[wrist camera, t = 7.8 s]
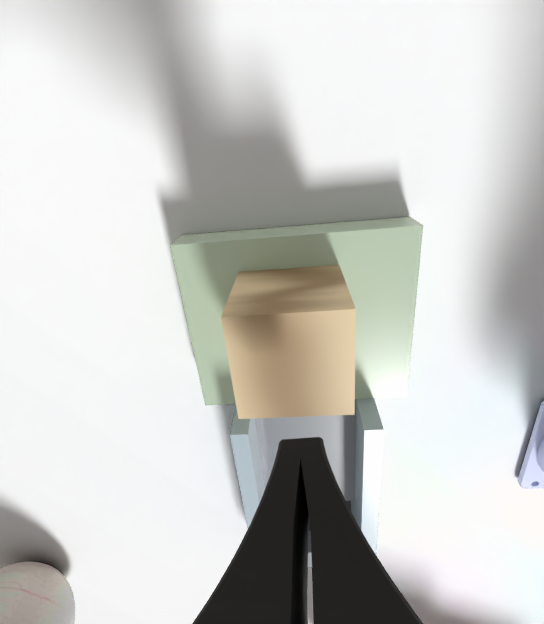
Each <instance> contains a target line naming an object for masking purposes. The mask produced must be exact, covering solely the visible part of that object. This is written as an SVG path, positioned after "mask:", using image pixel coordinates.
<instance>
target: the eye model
mask: <svg viewBox="0 0 544 624" xmlns="http://www.w3.org/2000/svg"><path fill="white" fill-rule="evenodd" d="M74 621H75V601H74V596H73V592H72V589H71V587H70V585H69V583H68V581H67V580H66V578H65V577H64V576H63V575H62V574H61V573H60V572H59V571H58V570H57V569H55V568H54V567H52V566H50V565H47V564H44V563H40V562H19V563H14V564H10V565H7V566H4V567H2V568H0V624H74Z"/></svg>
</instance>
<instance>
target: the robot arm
mask: <svg viewBox="0 0 544 624" xmlns="http://www.w3.org/2000/svg"><path fill="white" fill-rule="evenodd" d="M518 483H519V484H520V486H521V487H522V488H544V401H542V403H541V405H540V409H539V412H538V415H537V418H536V422H535V425H534V428H533V432H532V435H531V438H530V441H529V445H528V448H527V451H526V455H525V458H524V461H523V465H522V468H521V471H520V474H519V478H518ZM309 521H310V531H311V553H312V581H313V612H314V624H423V623H422V622H421V620H420V619H419V618H418V616H417V615H416V614H415V612H414V611H413V609H412V608H411V606H410V605H409V604H408V602H407V601H406V599H405V598H404V597H403V595H402V594H401V592H400V591H399V589H398V588H397V587H396V585H395V584H394V582H393V581H392V579H391V578H390V576H389V575H388V573H387V572H386V570H385V569H384V567H383V566H382V564H381V562H380V561H379V559H378V558H377V556H376V554H375V553H374V551H373V550H372V548H371V546H370V545H369V543H368V541H367V540H366V538H365V536H364V534H363V533H362V531H361V529H360V527H359V525H358V524H357V522H356V520H355V518H354V516H353V514H352V512H351V511H350V509H349V507H348V505H347V503H346V501H345V498H344V496H343V494H342V492H341V490H340V488H339V485H338V483H337V481H336V479H335V476H334V474H333V471H332V469H331V466H330V463H329V461H328V458H327V454H326V451H325V447H324V442H323V439H322V438H320V437H311V438H297V439H282V440H281V441H280V442H279V445H278V450H277V454H276V458H275V461H274V465H273V468H272V471H271V474H270V477H269V480H268V482H267V485H266V488H265V490H264V493H263V496H262V498H261V501H260V503H259V506H258V508H257V510H256V512H255V515H254V517H253V519H252V521H251V524H250V526H249V528H248V530H247V532H246V534H245V536H244V538H243V540H242V542H241V544H240V546H239V548H238V550H237V552H236V554H235V556H234V557H233V559H232V561H231V563H230V565H229V566H228V568H227V570H226V572H225V573H224V575H223V577H222V578H221V580H220V582H219V584H218V585H217V587H216V589H215V590H214V592H213V593H212V595H211V597H210V598H209V600H208V601H207V603H206V604H205V606H204V607H203V609H202V610H201V612H200V613H199V615H198V616H197V618H196V619H195V621H194V622H193V624H308V620H307V574H308V534H309Z"/></svg>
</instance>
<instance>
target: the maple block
mask: <svg viewBox="0 0 544 624" xmlns="http://www.w3.org/2000/svg"><path fill="white" fill-rule="evenodd" d="M221 321H222V326H223V332H224V338H225V344H226V350H227V355H228V361H229V367H230V373H231V379H232V385H233V390H234V396H235V402H236V408H237V414H238V419H253V418H279V417H306V416H333V415H355V339H356V308H355V305H354V303H353V300H352V297H351V295H350V292H349V290H348V287H347V284H346V282H345V279H344V276H343V274H342V271H341V268H340V266H339V265H328V266H314V267H300V268H286V269H272V270H258V271H244V272H238V274H237V277H236V279H235V282H234V284H233V287H232V290H231V292H230V295H229V297H228V300H227V303H226V305H225V308H224V310H223V313H222V316H221Z"/></svg>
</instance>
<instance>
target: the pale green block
mask: <svg viewBox="0 0 544 624" xmlns="http://www.w3.org/2000/svg"><path fill="white" fill-rule="evenodd" d="M422 231H423V225H422V224H420V223H419V222H417V221H416V220H414V219H413V218H411V217H400V218H387V219H375V220H362V221H350V222H337V223H325V224H313V225H300V226H288V227H275V228H263V229H250V230H238V231H226V232H213V233H201V234H188V235H181V236H180V237H179V238H178V239H177V240H175V241H174V242H173V243H172V244H171V245H170V247H171V251H172V256H173V260H174V265H175V269H176V274H177V278H178V283H179V288H180V292H181V297H182V301H183V306H184V310H185V315H186V319H187V324H188V328H189V333H190V338H191V342H192V347H193V351H194V356H195V360H196V365H197V369H198V374H199V379H200V383H201V388H202V392H203V397H204V401H205V405H223V404H236V402H235V396H234V390H233V385H232V379H231V373H230V367H229V361H228V355H227V350H226V344H225V338H224V332H223V326H222V321H221V316H222V313H223V310H224V308H225V305H226V303H227V300H228V297H229V295H230V292H231V290H232V287H233V284H234V282H235V279H236V277H237V274H238V272H244V271H258V270H272V269H286V268H300V267H314V266H328V265H339V266H340V268H341V271H342V274H343V276H344V279H345V282H346V284H347V287H348V290H349V292H350V295H351V297H352V300H353V303H354V305H355V308H356V339H355V415H333V416H306V417H279V418H253V419H238V414H237V408H236V407H235V412H234V417H233V422H232V427H231V432H230V438H231V444H232V449H233V454H234V459H235V465H236V470H237V475H238V480H239V486H240V491H241V496H242V501H243V507H244V512H245V517H246V522H247V528H249V526H250V524H251V521H252V519H253V517H254V515H255V512H256V510H257V508H258V506H259V503H260V501H261V498H262V496H263V493H264V490H265V488H266V485H267V482H268V480H269V477H270V474H271V471H272V468H273V465H274V461H275V458H276V454H277V450H278V445H279V442H280V441H281V440H282V439H297V438H311V437H320V438H322V439H323V442H324V447H325V451H326V454H327V458H328V461H329V463H330V466H331V469H332V471H333V474H334V476H335V479H336V481H337V483H338V485H339V488H340V490H341V492H342V494H343V496H344V498H345V501H346V503H347V505H348V507H349V509H350V511H351V512H352V514H353V516H354V518H355V520H356V522H357V524H358V525H359V527H360V529H361V531H362V533H363V534H364V536H365V538H366V540H367V541H368V543H369V545H370V546H371V548H372V550H373V551H374V553H375V554H376V548H377V532H378V515H379V499H380V483H381V466H382V450H383V434H384V429H383V426H382V423H381V420H380V416H379V413H378V410H377V407H376V404H375V401H374V398H395V397H407V391H408V380H409V370H410V359H411V348H412V338H413V327H414V316H415V306H416V295H417V284H418V274H419V263H420V252H421V242H422ZM308 567H312V553H311V531H310V521H309V534H308Z"/></svg>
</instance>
